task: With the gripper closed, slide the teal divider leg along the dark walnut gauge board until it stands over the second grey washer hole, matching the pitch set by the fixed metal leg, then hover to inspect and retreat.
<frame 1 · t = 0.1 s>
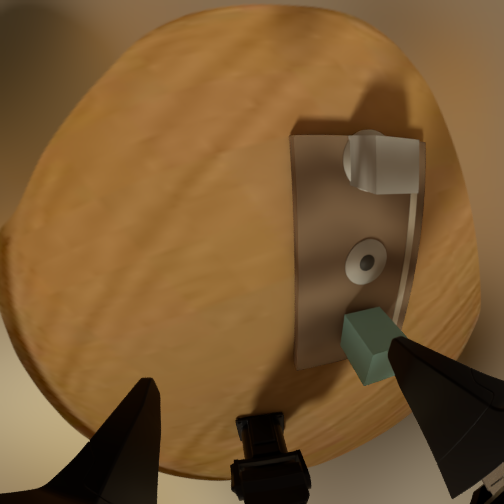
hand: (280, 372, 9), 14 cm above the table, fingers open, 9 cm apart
moving leg: (373, 344, 23), point 5 cm above the table, slide at 0.0 cm
gauge board: (359, 261, 24), on the table
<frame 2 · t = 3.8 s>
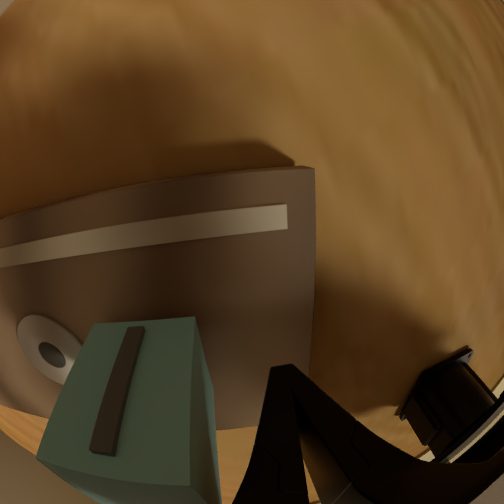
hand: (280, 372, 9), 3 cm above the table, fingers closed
moving leg: (144, 420, 7), point 5 cm above the table, slide at 1.4 cm, touching gripper
gauge board: (69, 337, 11), on the table
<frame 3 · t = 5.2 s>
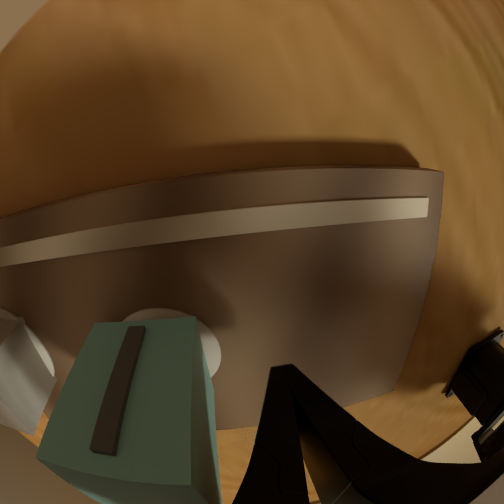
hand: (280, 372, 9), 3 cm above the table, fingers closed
moving leg: (144, 419, 7), point 5 cm above the table, slide at 7.4 cm, touching gripper
gauge board: (181, 333, 11), on the table
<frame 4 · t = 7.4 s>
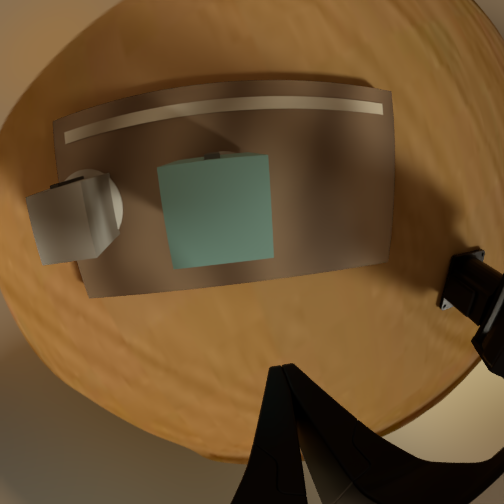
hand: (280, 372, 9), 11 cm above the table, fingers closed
moving leg: (216, 196, 13), point 5 cm above the table, slide at 7.4 cm
gauge board: (230, 184, 17), on the table
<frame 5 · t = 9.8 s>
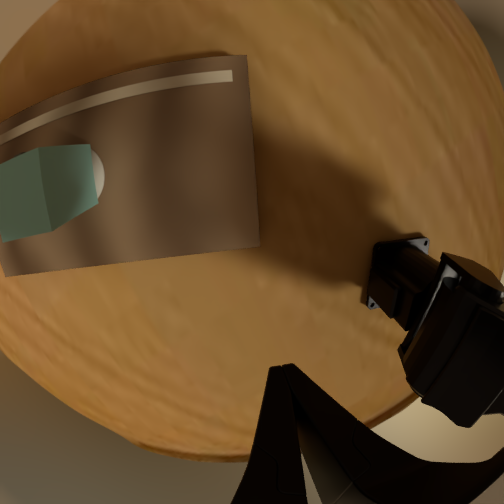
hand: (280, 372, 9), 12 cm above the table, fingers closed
moving leg: (46, 185, 12), point 5 cm above the table, slide at 7.4 cm
gauge board: (90, 174, 16), on the table
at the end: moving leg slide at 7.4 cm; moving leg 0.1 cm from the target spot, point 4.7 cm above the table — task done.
